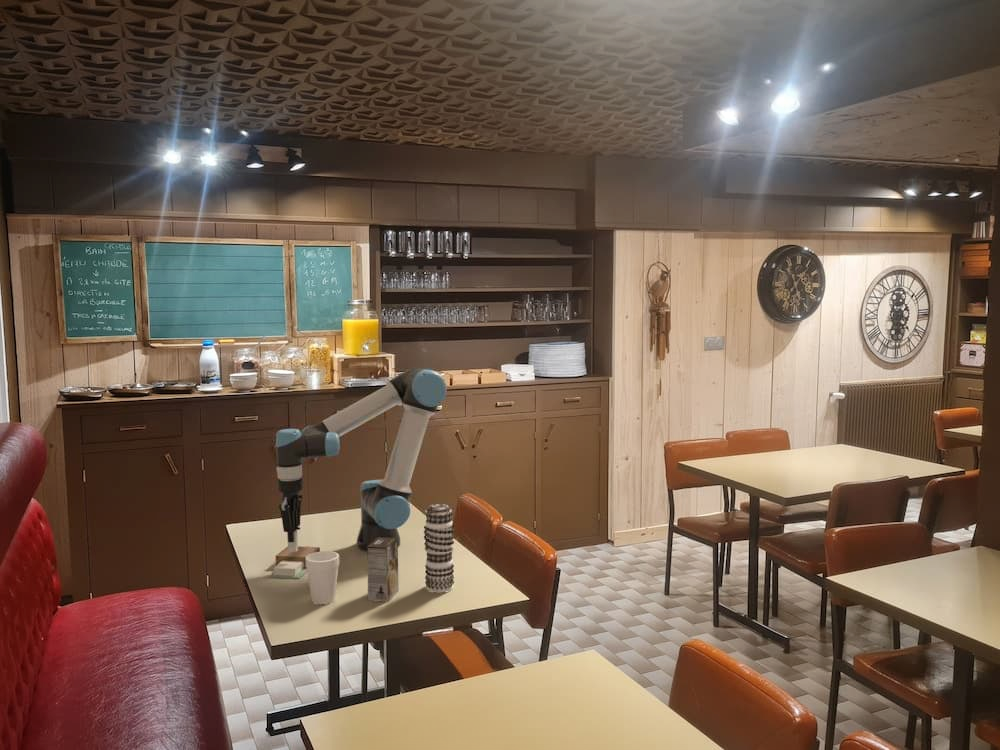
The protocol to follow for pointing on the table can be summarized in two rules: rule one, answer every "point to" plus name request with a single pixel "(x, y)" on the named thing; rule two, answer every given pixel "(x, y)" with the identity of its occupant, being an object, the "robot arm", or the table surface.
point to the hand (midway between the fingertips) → (293, 550)
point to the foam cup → (322, 575)
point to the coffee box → (382, 568)
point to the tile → (289, 568)
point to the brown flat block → (296, 554)
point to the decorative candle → (439, 548)
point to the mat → (290, 576)
